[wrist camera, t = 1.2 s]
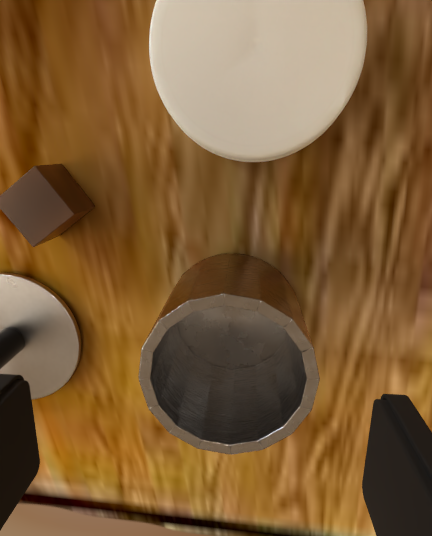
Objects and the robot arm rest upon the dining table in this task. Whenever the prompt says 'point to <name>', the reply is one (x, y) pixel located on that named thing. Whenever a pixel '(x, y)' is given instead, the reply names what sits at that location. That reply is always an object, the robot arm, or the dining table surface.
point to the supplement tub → (256, 70)
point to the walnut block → (45, 203)
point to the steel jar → (230, 357)
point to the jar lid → (36, 335)
